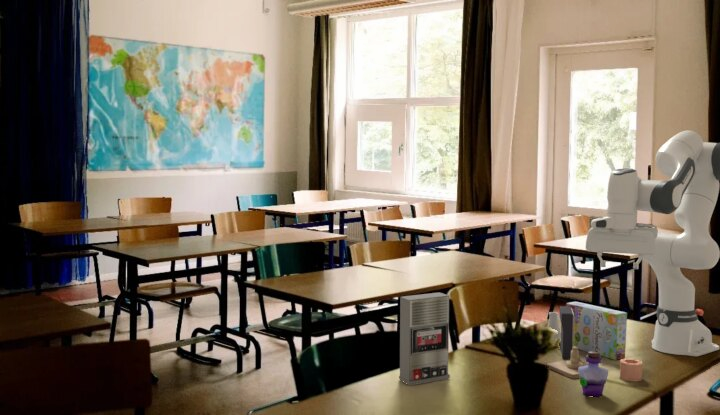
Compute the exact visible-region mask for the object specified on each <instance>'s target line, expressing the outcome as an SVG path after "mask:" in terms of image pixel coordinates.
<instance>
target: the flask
mask: <svg viewBox="0 0 720 415" xmlns="http://www.w3.org/2000/svg"><path fill="white" fill-rule="evenodd" d="M548 316H549V319H548V323H547V326H549V327H551V328H552V329H555V330H557V331H558V334H556V335H554V337H553V338H554V340H555V339H556V338H558V337H560V338H561V328H560V326H559V322H558V321H559V320H558V316H559V313H558V312H555V311H554V312H553V311H550V312H548ZM559 344H561V341H560V343H559Z"/></svg>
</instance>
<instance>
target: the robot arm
mask: <svg viewBox="0 0 720 415" xmlns="http://www.w3.org/2000/svg"><path fill="white" fill-rule="evenodd" d="M654 162H655V165H656V168H657V169H658V171H659V172H660V173H661V174H662V175H663V176H665V177H667V178H669V179H668V180H667V179H666V180H658V179H657V180H654V179H642V178H641V177H639V176H638V172H637V170H636V169H635V168H634V169H633V168H618V169H615V170H612V171H611V172H610V175H609V178H608V179H609V180H608V183H607V196H606V198H607V203H608V205H607V209H606V216H605V215H604V216H600V217H597V218H594V219H592V220H591V222H590V228H589V230H588V232H587V235H586V240H585V250H586V251H587V252H593V253H596V254H597V258H598V259H599V261H600V267H601V268H606V267H607V266H606V264H607V262H606V260H603V258H602V256H603V253H610V254H611V253H613V254H628V255H630V254H631V255H637V258H638V259H637V261H636V262H635V261H633V263H632V264H633V266H632V269H633V270H639V264H640V263H641V262H642V260H644V261H646V262H647V263H648V265H650V267H651V268H652V270H653V272H654V274H655V277H656V280H657V283H658V285H657V286H658V305H657V307H656V317H657V320H656V321H655V326H654V333H653V339H651V348H652V349H653V350H655V351H658V352H661V353H665V354H669V355H670V354H671V355H679V356H680V355H681V356H690V357H699V356H703V355H706V354H710V353H712V352H715V351H718V350H720V345H718V344H717V343H713V335H712V332H711V330H710V329H709V328H708V327H707V326H706V325H705V324H703V323H702V322H701V321H700V320H699V317H698V316H701V317H702V316H703V315H704V311H703V309H700V308H696V309H695V302H696V301H695V299H696V298H695V297H696V296H695V295H696V287H695V285H694V283H693V282H692V281H691V280H689V279H688V278H687V277H685V275H684V274H683V273H682V270H681V268H683V269H690V270H695V271H696V270H710V269H712V268H714V267H715V266H716V265H717V263H718V262H719V259H720V247H719V245H718V243H717V242H716V241H715V240H714V239H713V238H712V236H711V234H710V231H709V230H710V229H709V228H710V227H709V226H710V222H711V218H712V215H713V213H714V210H715V207H716V204H717V201H718V197H719V193H720V142H708V141H707V142H706V141H705V142H704V141H703V138H702V137H701V135H700V134H699V133H697V132H696V131H693V130H689V129H688V130H683V131H680V132H678V133H677V134H675V135H673V136H672V137H671V138H669V139H668V140H667V141H666V142H664V144H662V145H661V146H660V148H658V150H657V152H656V154H655V160H654ZM638 211H641V212H650V213H651V212H652V213H658V214H664V215H670V214H673V213H674V215H673V216H674V220H675V223H676V224H677V225H678V226H679V227H680V228H681V229H683V230H684V231H683V232H682V233H671V232H662V231H661V232H660V231H659V229H658V227H657V226H655V225H654V224H653V223H641V222H640V223H639V222H638Z"/></svg>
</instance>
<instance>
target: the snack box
mask: <svg viewBox="0 0 720 415" xmlns="http://www.w3.org/2000/svg"><path fill="white" fill-rule="evenodd" d="M565 306H567V307H571V308H572V310H573V313H574V333H575V335H574V347H577V350H578V351H579V350H581V351H583V352H587V353H588V352H589V351H594V352H599V353H600V356H601V357H604V358H608V359H611V360H615V361H616V360H621V359H626V347H627V346H626V345H627V323H628V321H627V320H628V312H625V311H620V310H615V309H612V308H607V307H603V306H598V305H593V304H589V303H584V302H579V301H570V302H566V304H565Z"/></svg>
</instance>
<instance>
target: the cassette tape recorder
mask: <svg viewBox="0 0 720 415" xmlns="http://www.w3.org/2000/svg"><path fill="white" fill-rule="evenodd" d="M399 299H400V301H399V302H400V306H399V309H400V310H399V313H400V315H399V317H400V318H399V319H400V320H399V323H400V324H399V328H400V329H399V376H398V380H399V379H400V380H399V381H401V380H402V381H404V382H405V383H404V382H403V383H404V384H406V383H407V384H406V385H408V386H409V385H412V386H415V385H420V384H425V383H426V384H427V383H431V382H437V381H443V380H449V379H450V378H451V376H450V374H449V344H450V343H449V341H450V340H449V338H450V337H449V335H450V333H449V330H450V325H449V324H450V294H445V293H443V292H432V293H423V294H421V293H420V294H413V295H405V296H400V297H399ZM402 381H401V382H402Z"/></svg>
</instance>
